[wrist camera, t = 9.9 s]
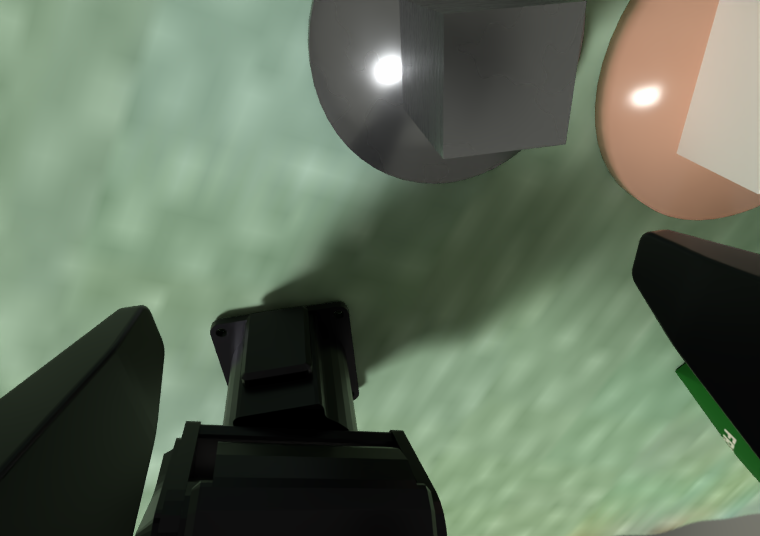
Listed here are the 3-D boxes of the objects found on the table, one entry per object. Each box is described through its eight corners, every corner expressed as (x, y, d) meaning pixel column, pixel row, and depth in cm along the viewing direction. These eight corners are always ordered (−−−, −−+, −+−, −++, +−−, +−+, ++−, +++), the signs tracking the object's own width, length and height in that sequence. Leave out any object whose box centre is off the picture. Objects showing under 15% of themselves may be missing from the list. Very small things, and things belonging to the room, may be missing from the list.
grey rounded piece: (553, 159, 21) (643, 228, 16) (326, 188, 20) (341, 271, 15) (592, -133, 16) (751, -181, 10) (285, -115, 15) (285, -156, 9)
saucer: (814, 191, 25) (837, 201, 24) (573, 225, 23) (586, 237, 22) (966, -139, 18) (1007, -145, 17) (632, -117, 16) (654, -122, 15)
